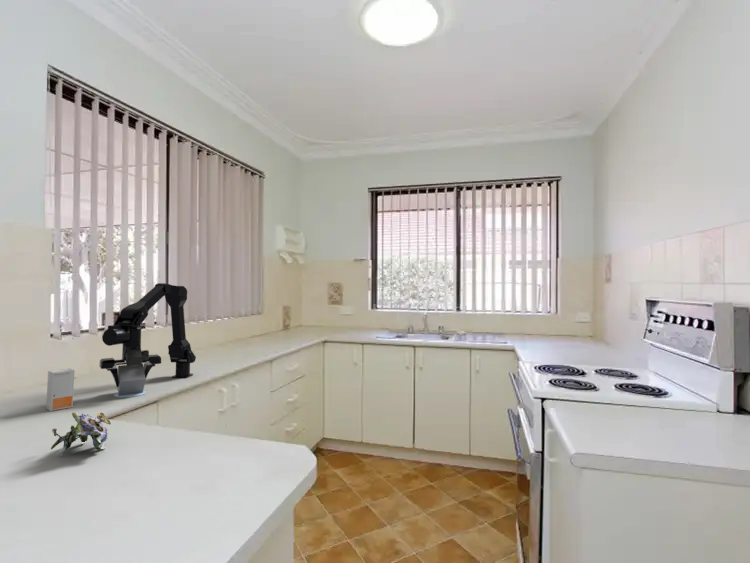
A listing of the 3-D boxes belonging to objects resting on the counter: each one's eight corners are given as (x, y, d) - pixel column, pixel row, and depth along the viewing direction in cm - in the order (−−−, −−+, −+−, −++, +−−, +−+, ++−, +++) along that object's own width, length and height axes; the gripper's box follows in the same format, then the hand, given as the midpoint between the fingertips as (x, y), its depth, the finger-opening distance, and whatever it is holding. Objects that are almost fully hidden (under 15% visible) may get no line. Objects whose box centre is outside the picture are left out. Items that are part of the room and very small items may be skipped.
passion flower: (100, 472, 97) (115, 438, 94) (42, 477, 90) (57, 440, 87) (100, 434, 105) (115, 401, 102) (48, 435, 98) (61, 400, 94)
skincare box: (50, 411, 125) (51, 372, 126) (46, 409, 128) (47, 370, 128) (73, 407, 130) (74, 369, 130) (69, 404, 133) (70, 368, 133)
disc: (125, 390, 152) (125, 389, 152) (151, 390, 152) (151, 390, 152) (107, 397, 142) (107, 396, 142) (135, 397, 142) (135, 397, 142)
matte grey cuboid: (116, 380, 149) (118, 365, 146) (139, 377, 154) (142, 363, 151) (118, 396, 144) (120, 381, 141) (142, 392, 149) (145, 379, 146)
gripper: (103, 346, 136) (102, 393, 135) (165, 342, 147) (164, 386, 147) (100, 342, 144) (98, 387, 144) (158, 339, 156) (157, 380, 156)
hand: (130, 385), depth 147 cm, fingers closed on matte grey cuboid, 8 cm apart
